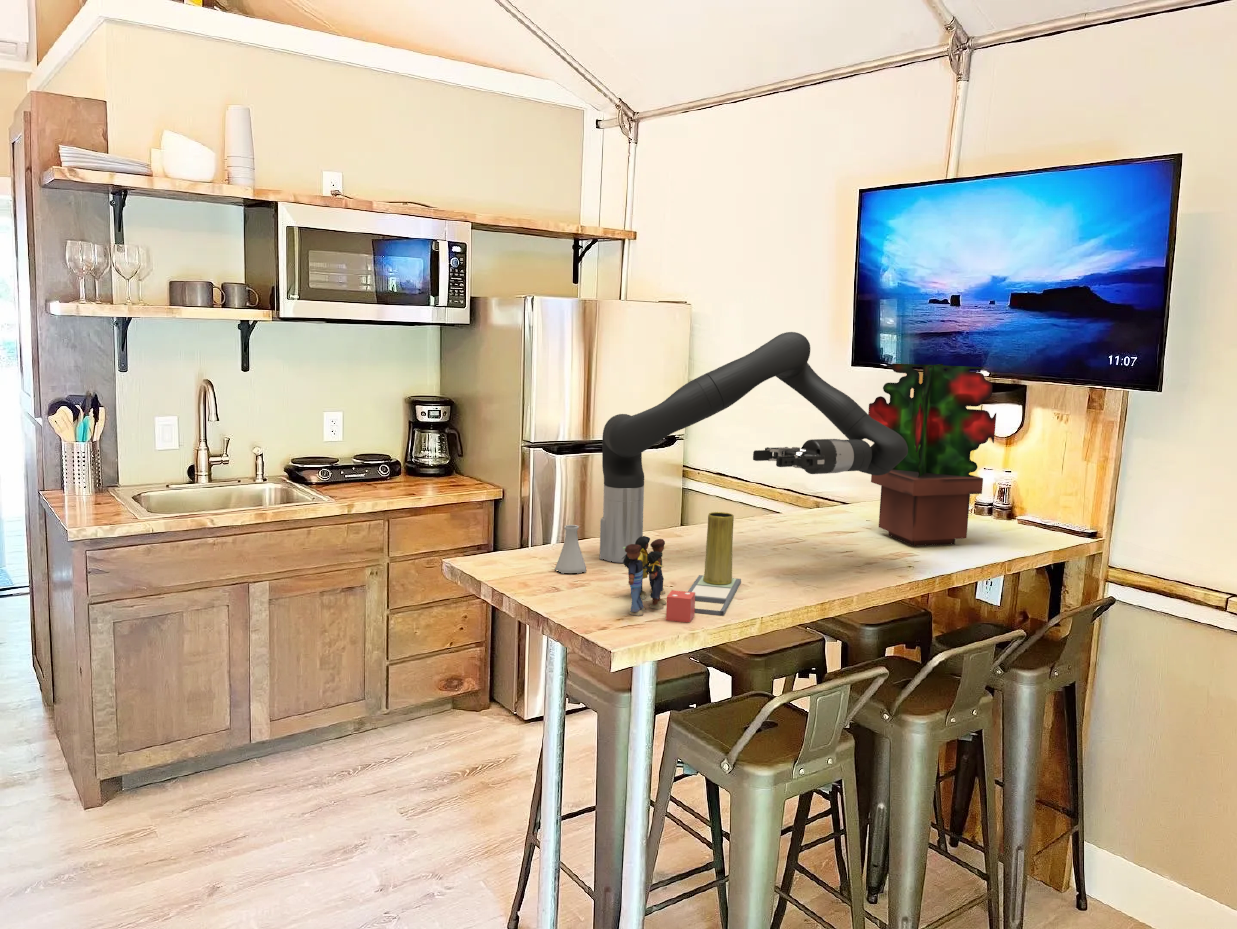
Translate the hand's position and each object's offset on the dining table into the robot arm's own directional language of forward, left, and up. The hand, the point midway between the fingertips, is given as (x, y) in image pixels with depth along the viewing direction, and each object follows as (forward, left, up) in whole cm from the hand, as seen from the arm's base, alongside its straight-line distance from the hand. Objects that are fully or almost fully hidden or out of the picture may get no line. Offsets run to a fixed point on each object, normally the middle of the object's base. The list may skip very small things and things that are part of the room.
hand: (765, 458), depth 202 cm
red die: (-11, -31, -26) cm, 42 cm away
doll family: (-20, -23, -27) cm, 41 cm away
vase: (-8, -7, -26) cm, 28 cm away
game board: (-8, -15, -26) cm, 31 cm away
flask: (-41, -6, -27) cm, 49 cm away
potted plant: (+35, +53, -27) cm, 69 cm away
